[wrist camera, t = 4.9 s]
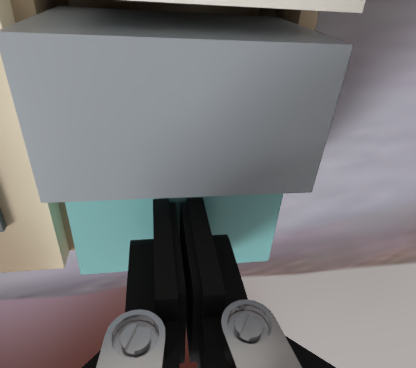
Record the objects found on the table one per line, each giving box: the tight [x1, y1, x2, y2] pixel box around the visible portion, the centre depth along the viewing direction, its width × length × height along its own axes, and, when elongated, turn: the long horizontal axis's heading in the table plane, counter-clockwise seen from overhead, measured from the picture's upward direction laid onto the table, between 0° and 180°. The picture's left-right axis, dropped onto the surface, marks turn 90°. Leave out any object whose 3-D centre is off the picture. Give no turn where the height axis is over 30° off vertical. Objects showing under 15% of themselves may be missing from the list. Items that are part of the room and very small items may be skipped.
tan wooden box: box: [0, 0, 319, 273], centre depth 12 cm, size 16×15×6 cm
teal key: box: [65, 193, 283, 274], centre depth 13 cm, size 7×4×5 cm, turn 86°
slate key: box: [0, 6, 353, 203], centre depth 9 cm, size 7×4×5 cm, turn 86°
